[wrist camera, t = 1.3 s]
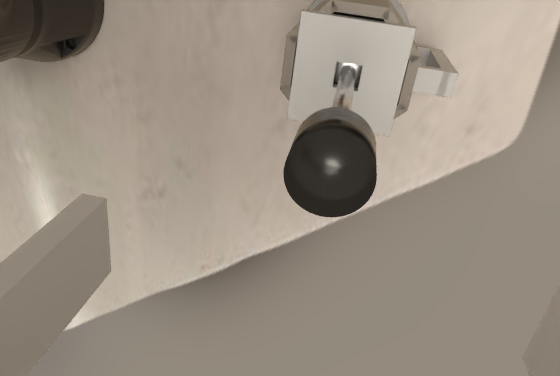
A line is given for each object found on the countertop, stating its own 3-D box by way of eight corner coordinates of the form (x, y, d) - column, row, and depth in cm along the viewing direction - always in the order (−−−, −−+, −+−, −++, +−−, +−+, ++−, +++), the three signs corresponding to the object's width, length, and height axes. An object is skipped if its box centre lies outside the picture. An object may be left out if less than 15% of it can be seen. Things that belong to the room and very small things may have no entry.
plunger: (295, 107, 40) (237, 232, 22) (309, 14, 36) (251, 75, 19) (384, 122, 39) (396, 265, 22) (407, 29, 36) (443, 107, 18)
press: (293, 84, 54) (265, 133, 39) (308, -27, 48) (283, -16, 34) (420, 105, 52) (438, 164, 38) (450, -6, 47) (485, 14, 33)
